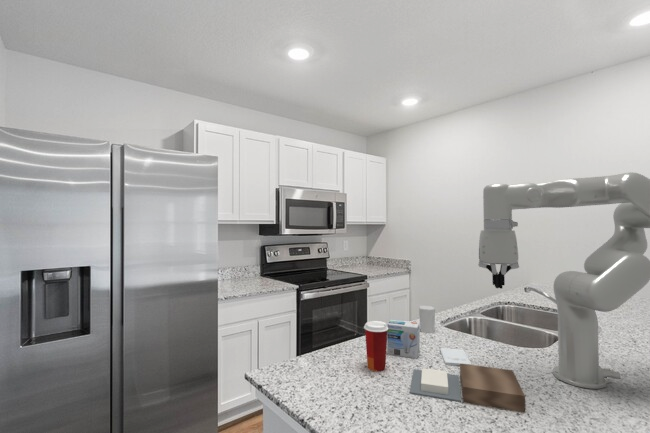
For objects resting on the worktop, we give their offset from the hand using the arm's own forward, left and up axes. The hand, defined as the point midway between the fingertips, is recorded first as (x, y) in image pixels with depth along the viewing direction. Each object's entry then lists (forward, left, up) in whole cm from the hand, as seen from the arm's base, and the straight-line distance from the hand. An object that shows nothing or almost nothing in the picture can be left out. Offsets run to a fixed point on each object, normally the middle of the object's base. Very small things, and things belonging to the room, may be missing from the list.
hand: (498, 287), depth 98 cm
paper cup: (+36, +4, -27) cm, 45 cm away
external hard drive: (+12, -12, -28) cm, 33 cm away
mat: (+18, +10, -27) cm, 34 cm away
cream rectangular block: (+18, +10, -25) cm, 32 cm away
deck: (+4, +10, -27) cm, 29 cm away
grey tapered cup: (+22, -39, -27) cm, 52 cm away
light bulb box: (+29, -11, -27) cm, 41 cm away
